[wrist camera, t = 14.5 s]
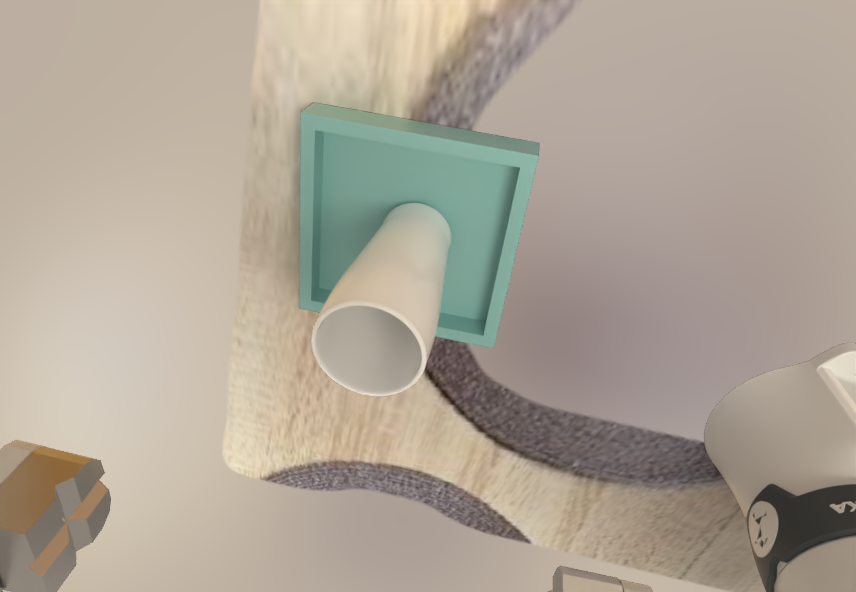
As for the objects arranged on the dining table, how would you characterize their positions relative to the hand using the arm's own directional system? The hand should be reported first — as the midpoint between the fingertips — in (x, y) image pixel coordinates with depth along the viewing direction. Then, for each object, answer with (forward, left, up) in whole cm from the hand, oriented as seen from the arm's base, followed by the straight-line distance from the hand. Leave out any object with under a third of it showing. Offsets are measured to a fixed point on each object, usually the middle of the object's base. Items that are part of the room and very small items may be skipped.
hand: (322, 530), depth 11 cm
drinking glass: (+3, +12, -35) cm, 37 cm away
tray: (+4, +12, -35) cm, 37 cm away
